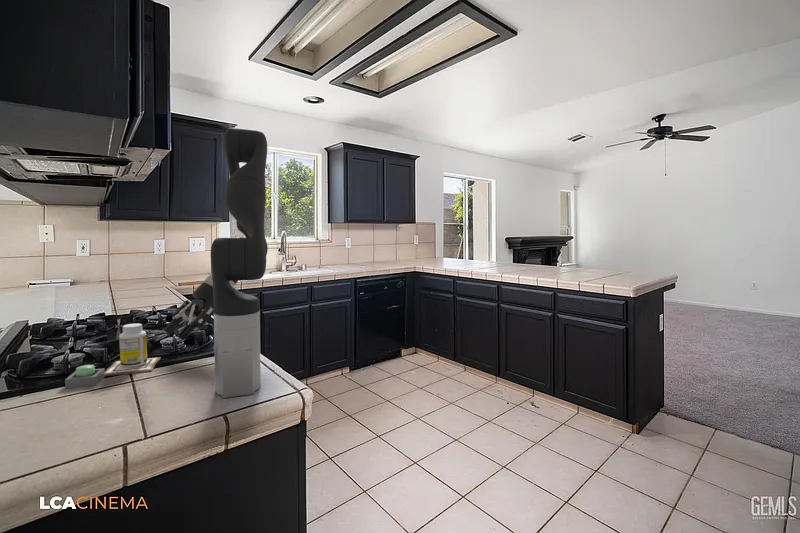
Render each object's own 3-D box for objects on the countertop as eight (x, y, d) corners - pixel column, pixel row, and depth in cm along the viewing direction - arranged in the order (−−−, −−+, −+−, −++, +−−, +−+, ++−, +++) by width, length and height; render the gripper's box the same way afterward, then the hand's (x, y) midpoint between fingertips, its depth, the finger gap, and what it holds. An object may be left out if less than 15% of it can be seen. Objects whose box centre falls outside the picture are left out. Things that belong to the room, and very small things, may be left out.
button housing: (96, 385, 82) (95, 376, 82) (65, 388, 80) (64, 379, 80) (105, 376, 87) (104, 368, 87) (76, 379, 85) (75, 371, 85)
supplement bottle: (138, 359, 97) (136, 321, 96) (152, 362, 95) (151, 323, 94) (115, 366, 92) (113, 326, 91) (129, 370, 90) (127, 328, 89)
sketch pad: (151, 371, 91) (151, 369, 91) (101, 376, 87) (101, 374, 87) (160, 358, 100) (160, 356, 100) (115, 362, 96) (115, 360, 96)
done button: (91, 378, 82) (91, 368, 82) (73, 380, 81) (73, 370, 81) (97, 373, 85) (96, 364, 85) (79, 375, 84) (79, 365, 84)
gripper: (193, 279, 111) (151, 323, 102) (217, 283, 102) (173, 332, 94) (211, 294, 115) (173, 338, 107) (236, 300, 107) (195, 348, 99)
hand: (173, 335), depth 101 cm, fingers open, 8 cm apart
